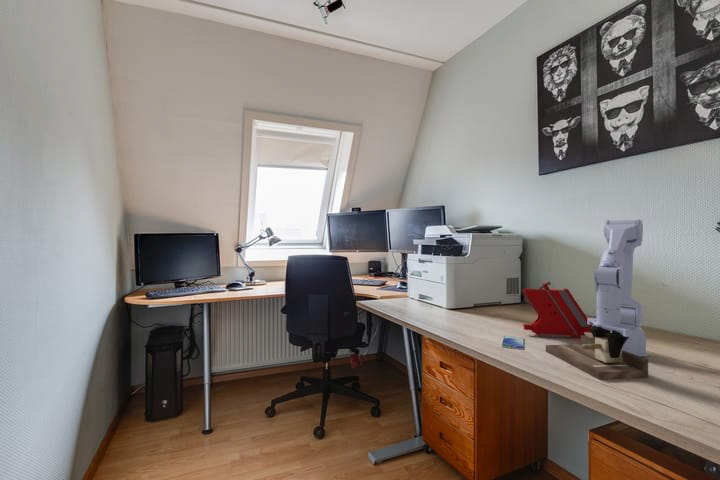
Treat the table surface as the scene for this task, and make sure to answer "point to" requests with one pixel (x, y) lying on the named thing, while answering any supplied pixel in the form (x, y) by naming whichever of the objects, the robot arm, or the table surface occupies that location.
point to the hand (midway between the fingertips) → (608, 355)
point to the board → (588, 363)
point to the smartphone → (513, 342)
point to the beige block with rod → (602, 350)
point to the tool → (556, 313)
